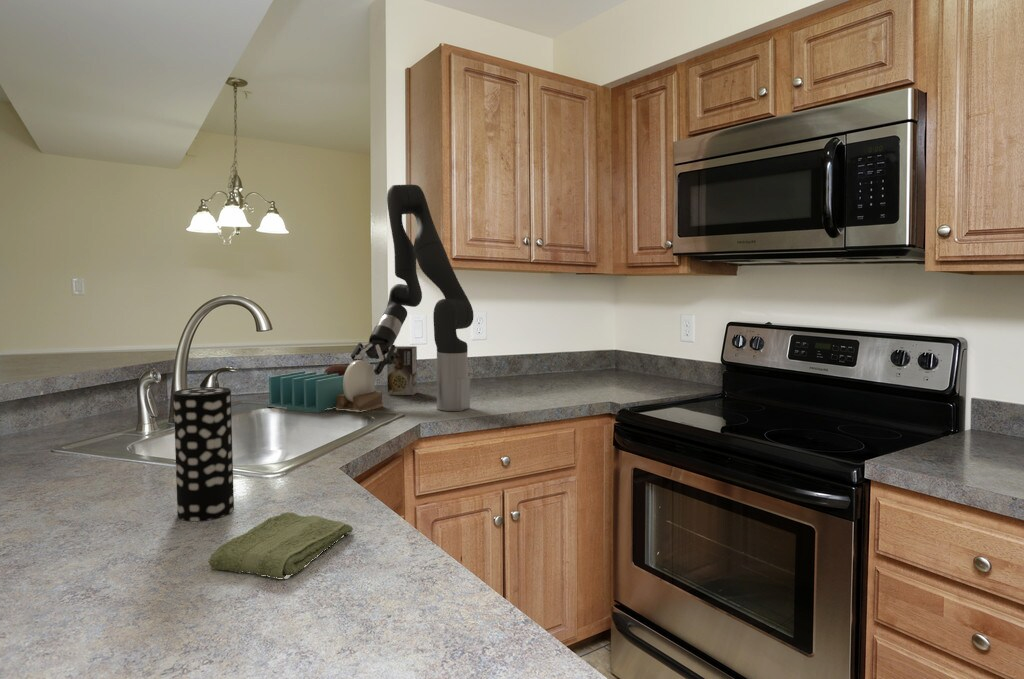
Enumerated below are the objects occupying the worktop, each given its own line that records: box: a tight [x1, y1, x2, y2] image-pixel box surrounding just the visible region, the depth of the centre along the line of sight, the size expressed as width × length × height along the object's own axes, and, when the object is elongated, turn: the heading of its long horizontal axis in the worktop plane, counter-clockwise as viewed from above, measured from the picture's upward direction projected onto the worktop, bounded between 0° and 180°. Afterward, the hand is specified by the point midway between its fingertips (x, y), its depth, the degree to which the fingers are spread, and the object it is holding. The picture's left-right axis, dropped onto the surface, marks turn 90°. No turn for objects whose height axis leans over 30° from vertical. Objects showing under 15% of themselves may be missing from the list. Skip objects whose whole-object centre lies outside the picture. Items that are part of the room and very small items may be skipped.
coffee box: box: [386, 345, 418, 396], centre depth 219 cm, size 9×6×16 cm
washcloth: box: [207, 512, 354, 578], centre depth 90 cm, size 13×18×3 cm
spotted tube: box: [172, 386, 235, 522], centre depth 104 cm, size 8×8×20 cm
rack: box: [266, 370, 344, 414], centre depth 196 cm, size 19×16×9 cm
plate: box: [343, 360, 376, 403], centre depth 192 cm, size 2×13×13 cm, turn 157°
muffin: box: [323, 364, 349, 376], centre depth 216 cm, size 12×11×10 cm
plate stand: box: [335, 390, 384, 411], centre depth 193 cm, size 9×11×4 cm
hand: (364, 372), depth 194 cm, fingers open, 8 cm apart
